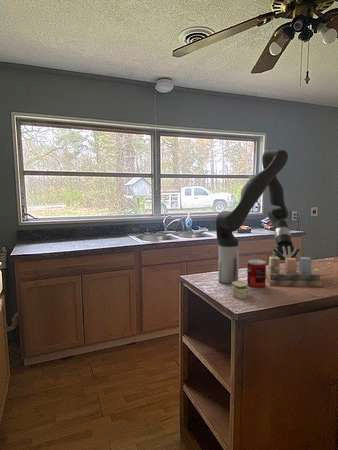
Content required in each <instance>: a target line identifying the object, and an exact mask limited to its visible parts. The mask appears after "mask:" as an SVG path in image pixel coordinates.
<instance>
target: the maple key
mask: <svg viewBox="0 0 338 450" xmlns="http://www.w3.org/2000/svg"><path fill="white" fill-rule="evenodd" d="M268 259H269V260H268V272H269V273H270V274H279V273H280V272H281V271H280V269H281V268H280V262H281V260H280V258H279V257H277V256H269V257H268Z"/></svg>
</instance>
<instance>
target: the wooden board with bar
mask: <svg viewBox="0 0 338 450" xmlns="http://www.w3.org/2000/svg"><path fill="white" fill-rule="evenodd" d="M266 281H267V283H268V284H269V286H271V287H272V286H274V287H276V286H277V287H314V286H315V287H317V288H319V287H320V288H321V287H323V286H324V285H323V284H324V283H323V281H322V280H321V275H320V274H319V273H317V274H316V273H315V274H313V273H312V272H311V274H299V271H296V274H285V271H280V273H279V274H270V273H269V271H266Z"/></svg>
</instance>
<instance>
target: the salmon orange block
mask: <svg viewBox="0 0 338 450" xmlns="http://www.w3.org/2000/svg"><path fill="white" fill-rule="evenodd" d="M297 263H298V261H297V258H296V257H295V258H285V262H284V272H285V274H296V272H298V271H297V266H298V265H297Z"/></svg>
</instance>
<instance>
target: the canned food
mask: <svg viewBox="0 0 338 450" xmlns="http://www.w3.org/2000/svg"><path fill="white" fill-rule="evenodd" d="M246 263H247V270H246V273H247V279H246V280H247V281H246V282H247V283H246V284H247V285H248V286H249V287H250V288H255V289H262V288H265V287H266V281H267V280H266V272H267V262H266V260H265V261H264V260H262V259H249V260H247V261H246Z"/></svg>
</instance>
